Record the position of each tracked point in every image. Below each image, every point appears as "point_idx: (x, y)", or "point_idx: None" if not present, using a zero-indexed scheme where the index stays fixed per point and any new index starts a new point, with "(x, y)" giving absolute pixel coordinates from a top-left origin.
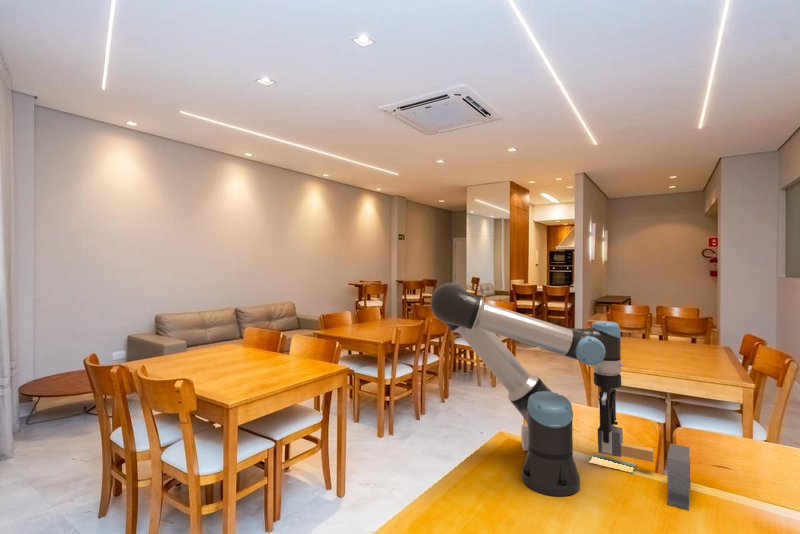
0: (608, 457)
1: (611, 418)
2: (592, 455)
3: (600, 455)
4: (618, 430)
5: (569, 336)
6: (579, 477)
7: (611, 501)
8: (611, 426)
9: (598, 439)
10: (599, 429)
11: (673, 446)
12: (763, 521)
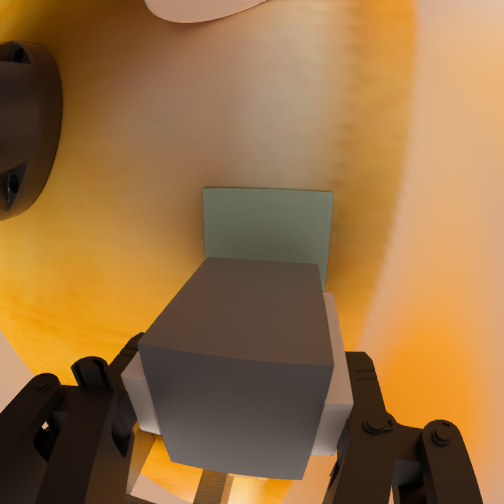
0: (325, 272)
1: (326, 499)
2: (305, 194)
3: (330, 233)
4: (226, 465)
5: None
6: (2, 218)
7: (25, 297)
8: (303, 438)
9: (176, 298)
10: (77, 369)
11: None
12: (175, 489)
